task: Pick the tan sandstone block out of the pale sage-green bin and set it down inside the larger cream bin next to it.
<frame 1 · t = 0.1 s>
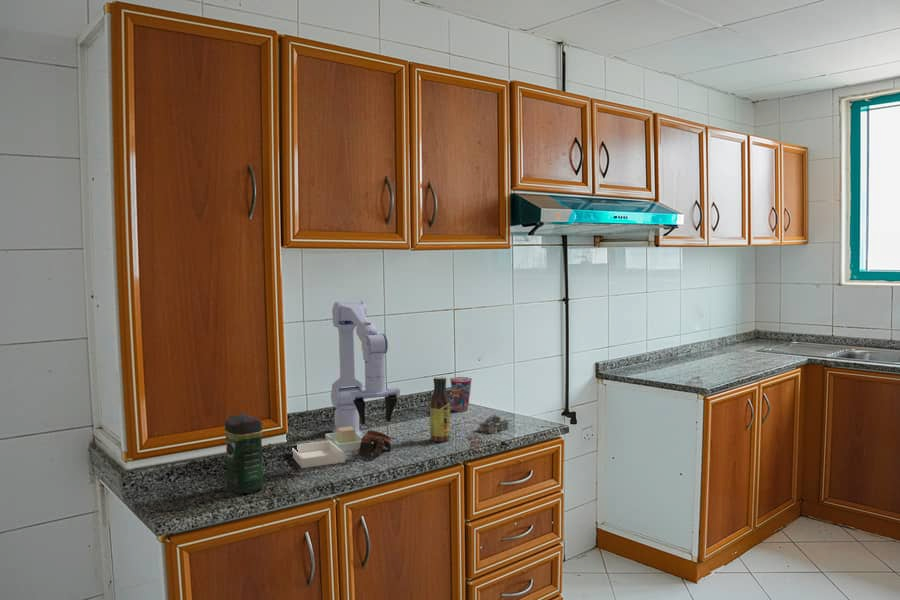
hand: (375, 422, 196), 10 cm above the counter, tool pointing down, fingers open, 7 cm apart
sandstone block: (346, 444, 207), point 1 cm above the counter, touching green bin
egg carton: (494, 430, 227), on the counter
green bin: (346, 446, 207), on the counter
sauce bottle: (440, 440, 214), on the counter
coffee jar: (245, 489, 170), on the counter
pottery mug: (375, 456, 198), on the counter, touching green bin
cream bin: (316, 459, 194), on the counter
cup: (461, 410, 255), on the counter
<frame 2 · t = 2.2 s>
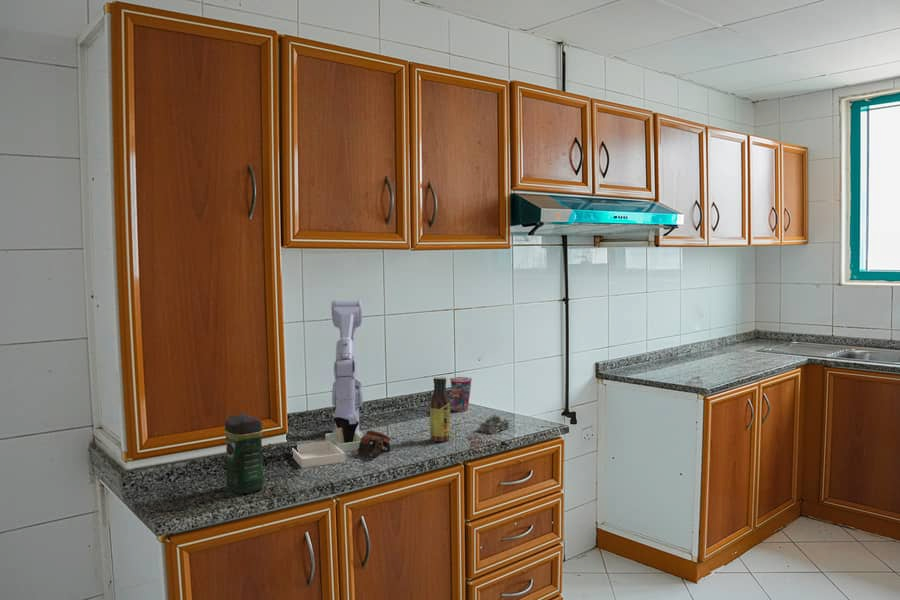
hand: (346, 442, 207), 1 cm above the counter, tool pointing down, fingers closed on sandstone block, 4 cm apart
sandstone block: (346, 444, 207), point 1 cm above the counter, touching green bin, gripper
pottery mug: (374, 456, 197), on the counter
everything else where it was.
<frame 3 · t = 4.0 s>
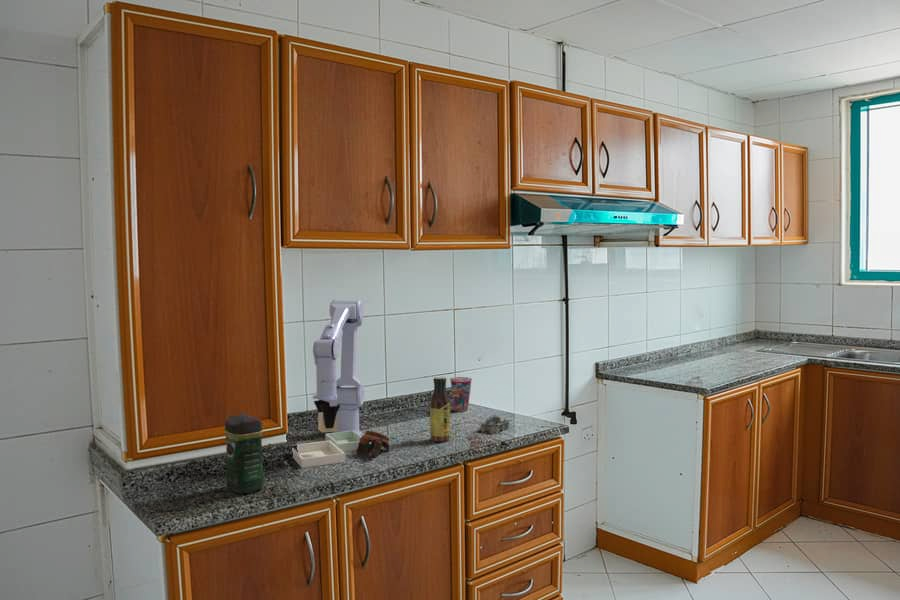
hand: (327, 426, 198), 9 cm above the counter, tool pointing down, fingers closed on sandstone block, 4 cm apart
sandstone block: (327, 430, 198), point 7 cm above the counter, touching gripper
everything else where it was.
when the fingers open (3 cm above the counter, at t = 5.7 s): sandstone block drops 2 cm, resting on cream bin.
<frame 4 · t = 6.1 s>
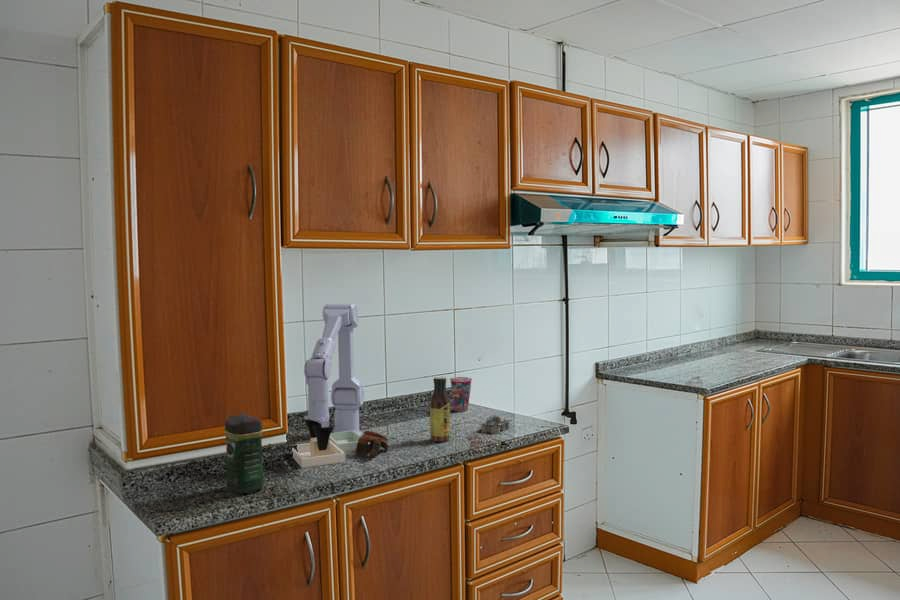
hand: (319, 446, 195), 3 cm above the counter, tool pointing down, fingers open, 7 cm apart
sandstone block: (319, 456, 195), point 1 cm above the counter, touching cream bin
everything else where it was.
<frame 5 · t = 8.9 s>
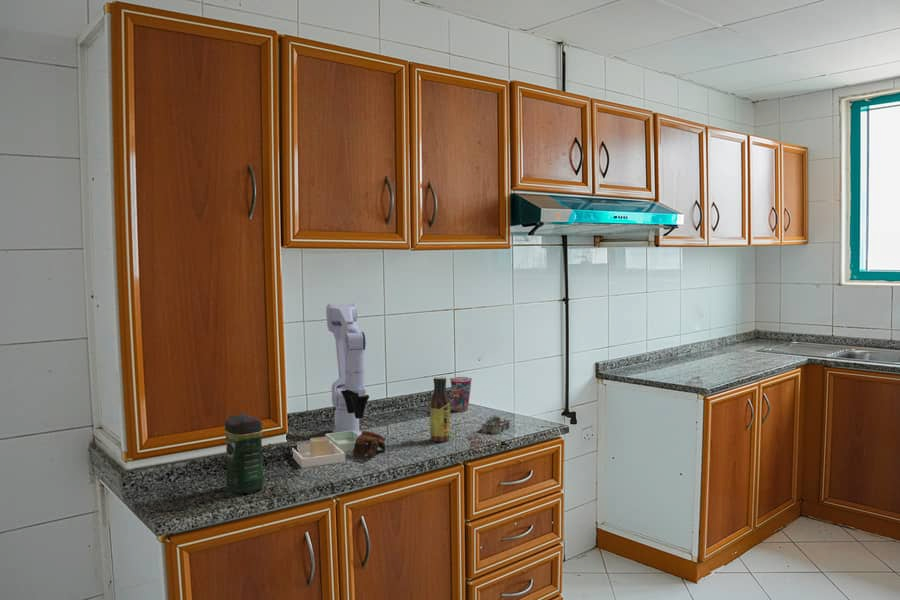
hand: (355, 415, 208), 9 cm above the counter, tool pointing down, fingers open, 7 cm apart
at the end: sandstone block inside the target area on the cream bin (1.6 cm from its centre), point 0.6 cm above the cream bin's base; sandstone block tilted 0°; the gripper is holding nothing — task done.
